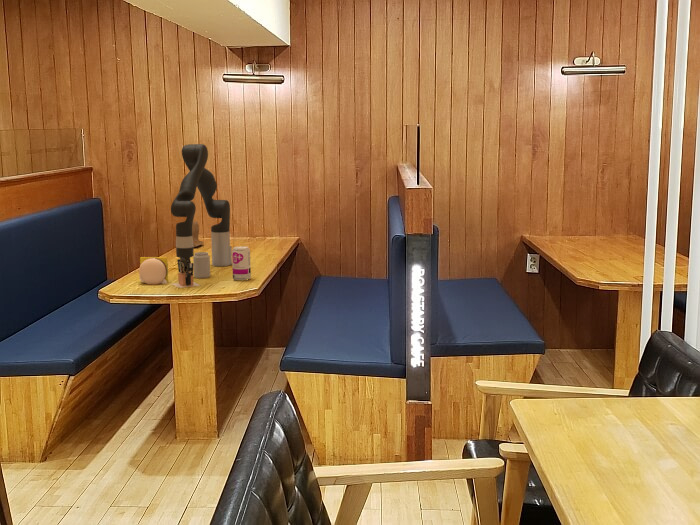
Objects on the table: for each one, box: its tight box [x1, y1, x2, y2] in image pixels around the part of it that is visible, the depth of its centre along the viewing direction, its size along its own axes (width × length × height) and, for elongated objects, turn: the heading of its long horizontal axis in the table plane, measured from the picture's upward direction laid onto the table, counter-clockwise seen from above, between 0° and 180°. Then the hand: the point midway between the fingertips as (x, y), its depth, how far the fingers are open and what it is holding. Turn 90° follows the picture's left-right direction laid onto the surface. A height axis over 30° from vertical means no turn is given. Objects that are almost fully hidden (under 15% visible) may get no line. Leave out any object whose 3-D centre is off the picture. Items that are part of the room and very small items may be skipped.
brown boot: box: [192, 220, 205, 248], centre depth 459 cm, size 15×12×15 cm
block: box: [177, 272, 194, 286], centre depth 348 cm, size 5×5×5 cm
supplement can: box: [232, 245, 252, 281], centre depth 361 cm, size 8×8×15 cm
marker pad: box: [171, 281, 201, 289], centre depth 348 cm, size 10×10×1 cm
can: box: [192, 251, 211, 279], centre depth 365 cm, size 8×8×12 cm
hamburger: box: [138, 256, 169, 285], centre depth 351 cm, size 12×8×12 cm
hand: (186, 283), depth 348 cm, fingers closed on block, 5 cm apart
